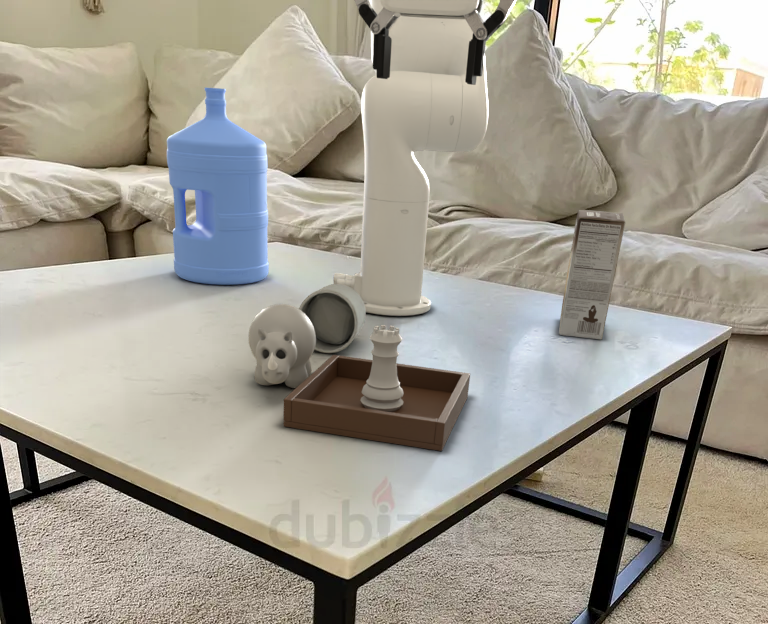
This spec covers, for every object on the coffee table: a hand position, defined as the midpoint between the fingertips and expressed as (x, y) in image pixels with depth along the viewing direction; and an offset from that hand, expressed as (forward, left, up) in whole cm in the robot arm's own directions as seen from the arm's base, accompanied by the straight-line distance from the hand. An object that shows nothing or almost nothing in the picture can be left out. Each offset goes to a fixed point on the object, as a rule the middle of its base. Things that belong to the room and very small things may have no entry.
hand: (426, 81), depth 84 cm
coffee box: (+21, +24, -31) cm, 44 cm away
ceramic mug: (-11, 0, -31) cm, 32 cm away
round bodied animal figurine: (-10, -18, -31) cm, 37 cm away
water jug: (-39, +31, -31) cm, 58 cm away
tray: (+2, -20, -30) cm, 36 cm away
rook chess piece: (+2, -20, -30) cm, 36 cm away
